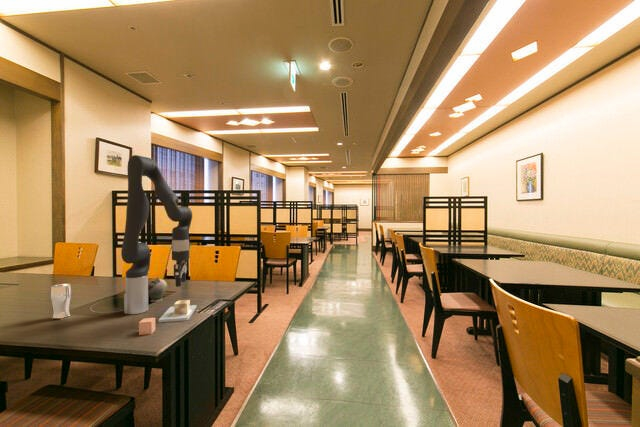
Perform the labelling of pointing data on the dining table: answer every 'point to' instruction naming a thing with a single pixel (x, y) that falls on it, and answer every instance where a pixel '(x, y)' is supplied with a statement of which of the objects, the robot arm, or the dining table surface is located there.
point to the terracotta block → (146, 326)
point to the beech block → (182, 307)
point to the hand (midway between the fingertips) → (180, 284)
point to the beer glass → (61, 300)
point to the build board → (170, 316)
